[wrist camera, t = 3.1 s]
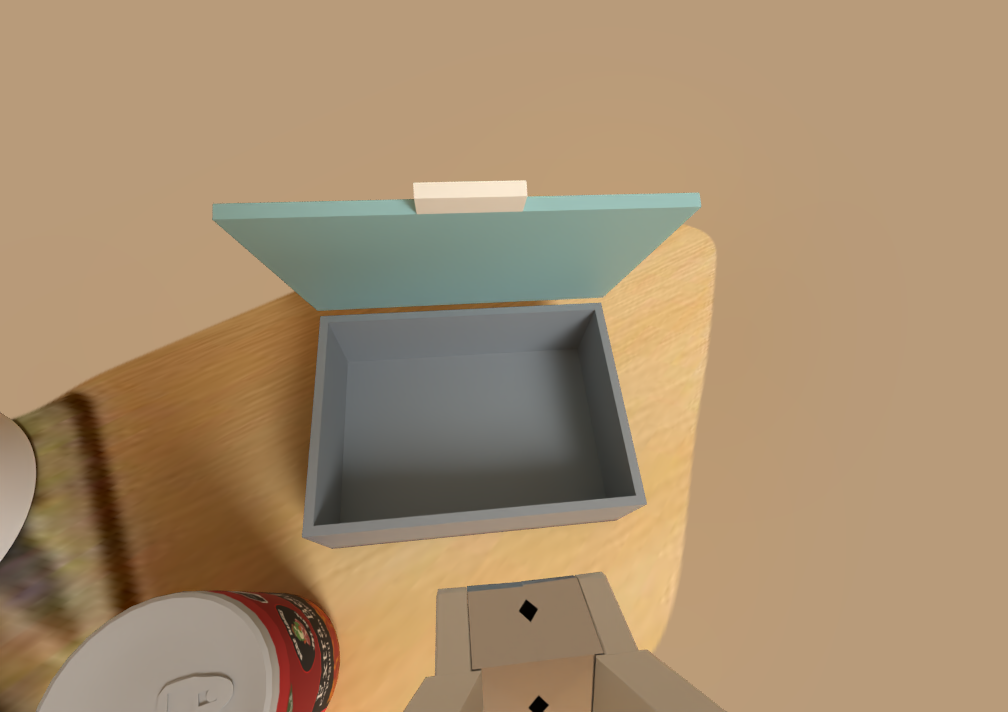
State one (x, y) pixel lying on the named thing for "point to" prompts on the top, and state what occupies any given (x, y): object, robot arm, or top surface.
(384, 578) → the top surface
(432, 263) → the mailer lid
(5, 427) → the robot arm
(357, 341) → the box
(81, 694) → the canned food
